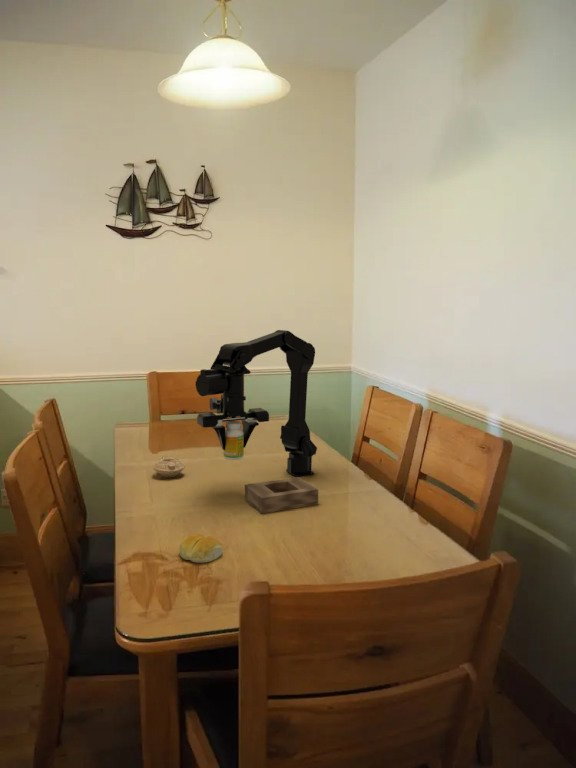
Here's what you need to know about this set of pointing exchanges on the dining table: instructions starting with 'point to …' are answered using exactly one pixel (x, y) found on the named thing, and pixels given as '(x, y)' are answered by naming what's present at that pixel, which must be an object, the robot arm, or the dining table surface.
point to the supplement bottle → (234, 441)
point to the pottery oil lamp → (169, 466)
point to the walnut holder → (281, 495)
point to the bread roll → (200, 548)
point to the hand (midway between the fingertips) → (233, 448)
